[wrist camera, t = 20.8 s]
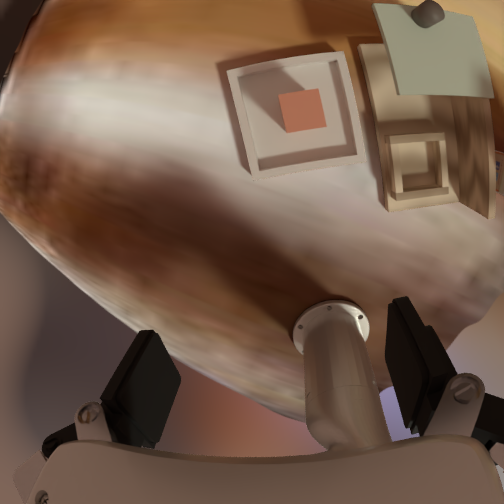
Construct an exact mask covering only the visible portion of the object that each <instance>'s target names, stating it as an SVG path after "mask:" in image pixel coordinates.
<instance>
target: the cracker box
mask: <svg viewBox="0 0 504 504" xmlns="http://www.w3.org/2000/svg"><path fill="white" fill-rule="evenodd" d="M495 161H496V192H497V193H499V194H501V195H503V196H504V153H503V152H500V151H496V150H495Z"/></svg>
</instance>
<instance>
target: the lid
mask: <svg viewBox="0 0 504 504" xmlns="http://www.w3.org/2000/svg"><path fill="white" fill-rule="evenodd" d="M372 9H373V12H374V14H375V17H376V20H377V23H378V26H379V29H380V32H381V35H382V39H383V42H384V45H385V49H386V52H387V56H388V60H389V64H390V68H391V72H392V76H393V80H394V84H395V89H396V94H397V95H452V96H470V97H482V98H494V93H493V88H492V82H491V78H490V73H489V69H488V65H487V61H486V57H485V53H484V50H483V46H482V43H481V39H480V36H479V33H478V30H477V27H476V24H475V21H474V19H473V17H472V16H468V15H463V14H459V13H454V12H449V11H444V10H443V9H442V7H441V6H440V5H439V4H438V3H436V2H435V1H432V0H425V1H424V2H423V3H421V4H420V5H419V6H409V5H398V4H383V3H373V4H372Z"/></svg>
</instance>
